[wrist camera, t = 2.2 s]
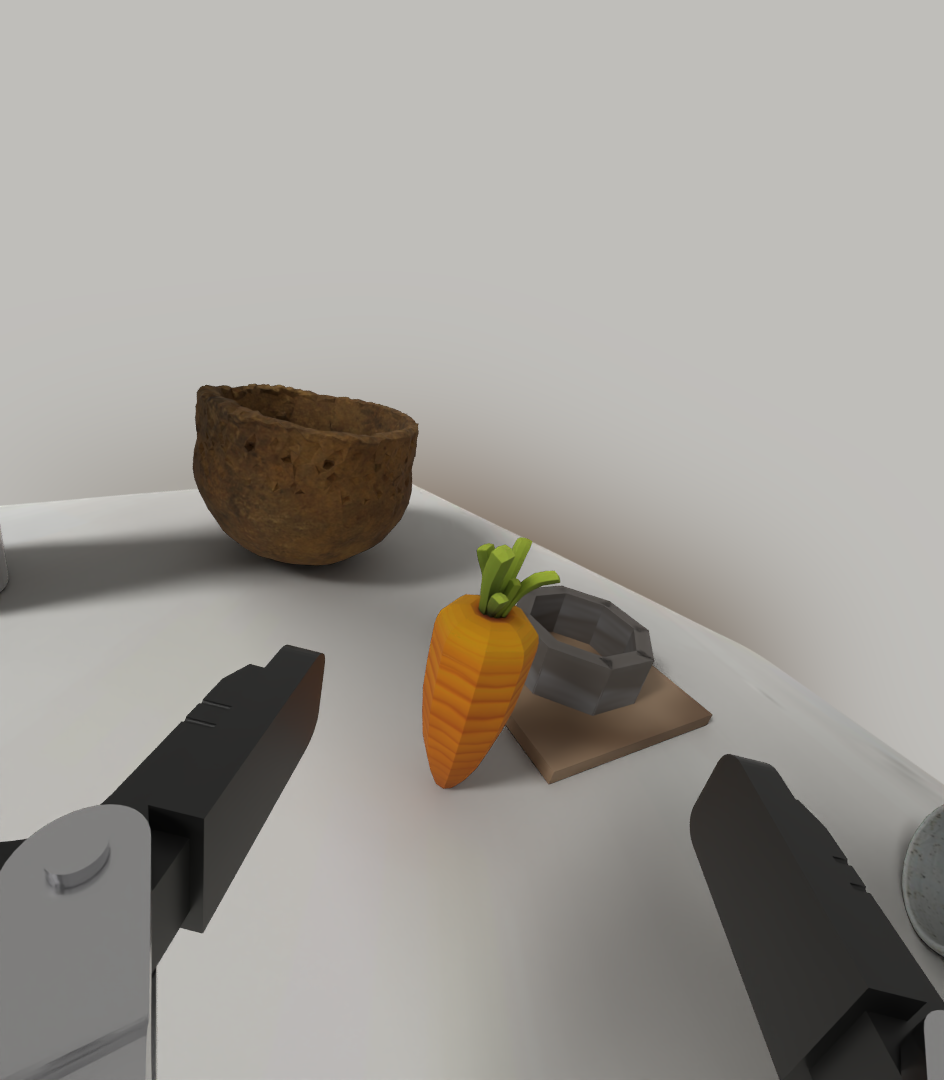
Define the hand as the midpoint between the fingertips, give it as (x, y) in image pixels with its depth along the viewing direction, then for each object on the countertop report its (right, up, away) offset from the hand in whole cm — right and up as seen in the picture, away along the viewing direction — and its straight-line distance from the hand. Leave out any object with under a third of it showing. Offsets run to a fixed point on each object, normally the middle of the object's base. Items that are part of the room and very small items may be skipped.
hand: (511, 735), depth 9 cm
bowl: (-17, +2, +37) cm, 41 cm away
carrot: (-2, -10, +16) cm, 19 cm away
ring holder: (+7, -7, +28) cm, 30 cm away
